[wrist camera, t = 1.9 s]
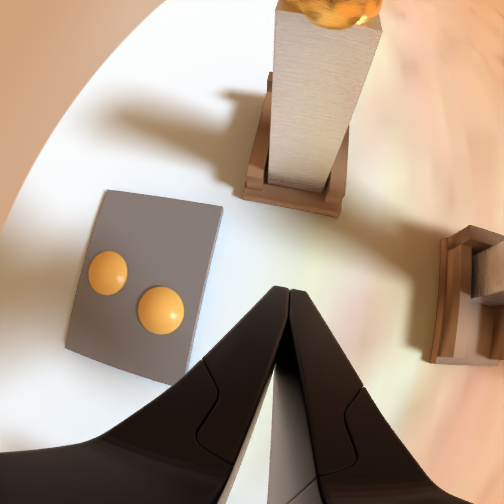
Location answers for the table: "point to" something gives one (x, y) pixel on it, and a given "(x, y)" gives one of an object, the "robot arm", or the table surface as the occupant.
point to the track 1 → (289, 196)
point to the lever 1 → (317, 84)
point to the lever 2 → (488, 276)
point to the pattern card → (144, 284)
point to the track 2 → (466, 305)
